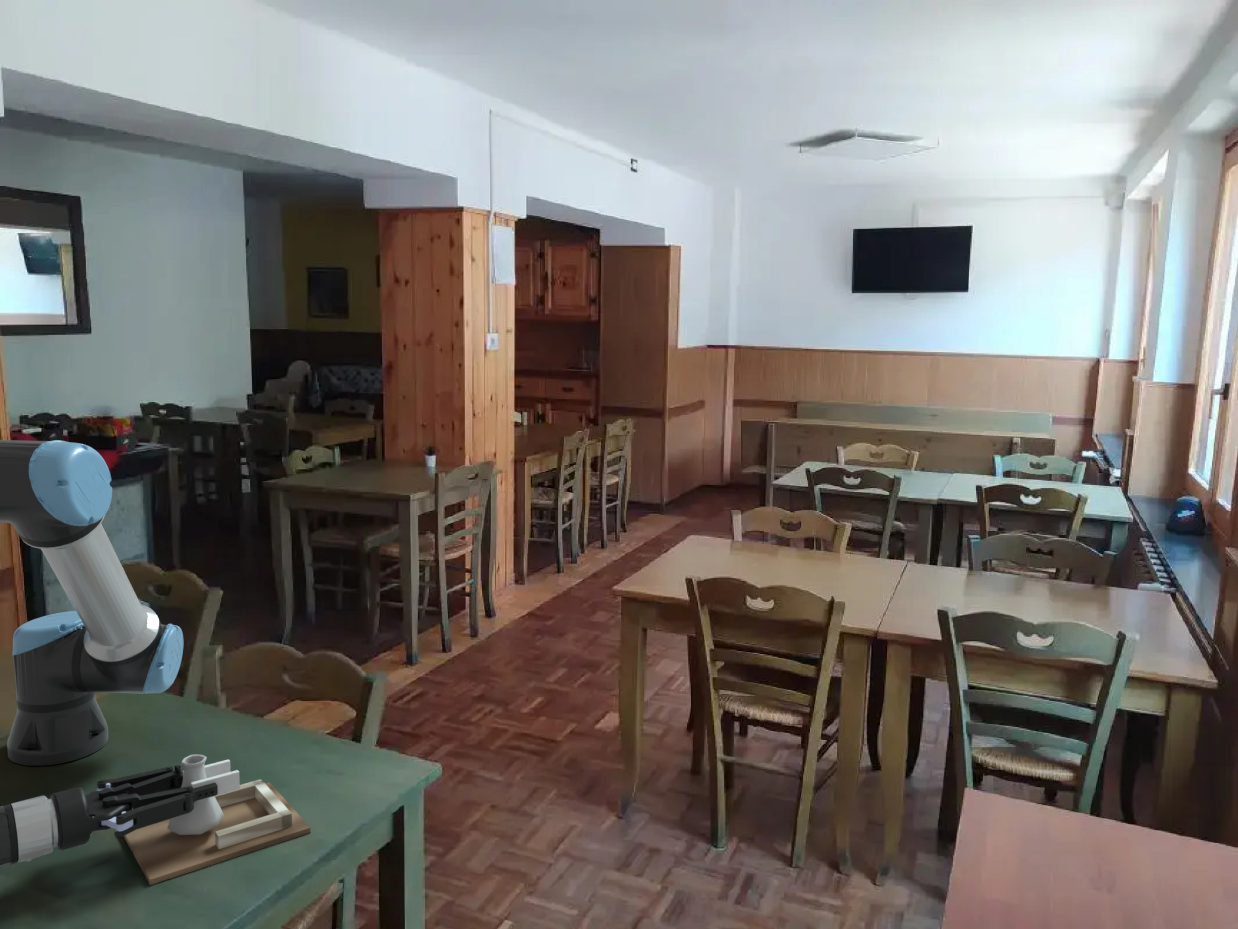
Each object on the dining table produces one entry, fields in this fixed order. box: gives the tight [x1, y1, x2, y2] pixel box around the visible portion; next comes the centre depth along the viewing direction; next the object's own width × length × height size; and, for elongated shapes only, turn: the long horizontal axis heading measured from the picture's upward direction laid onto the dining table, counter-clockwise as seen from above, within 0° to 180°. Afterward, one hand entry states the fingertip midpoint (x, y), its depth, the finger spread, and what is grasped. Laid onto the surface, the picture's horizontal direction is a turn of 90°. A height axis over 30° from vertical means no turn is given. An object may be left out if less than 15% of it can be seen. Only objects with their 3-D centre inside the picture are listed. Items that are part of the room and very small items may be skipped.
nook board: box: [123, 778, 311, 886], centre depth 140 cm, size 17×22×3 cm
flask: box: [167, 754, 224, 835], centre depth 137 cm, size 7×7×10 cm
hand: (233, 774), depth 140 cm, fingers closed on flask, 3 cm apart
